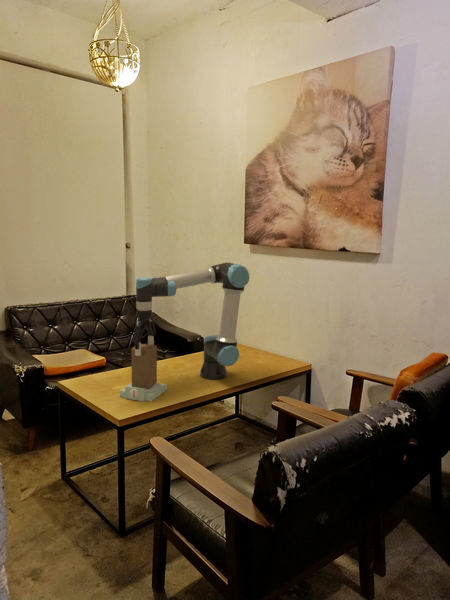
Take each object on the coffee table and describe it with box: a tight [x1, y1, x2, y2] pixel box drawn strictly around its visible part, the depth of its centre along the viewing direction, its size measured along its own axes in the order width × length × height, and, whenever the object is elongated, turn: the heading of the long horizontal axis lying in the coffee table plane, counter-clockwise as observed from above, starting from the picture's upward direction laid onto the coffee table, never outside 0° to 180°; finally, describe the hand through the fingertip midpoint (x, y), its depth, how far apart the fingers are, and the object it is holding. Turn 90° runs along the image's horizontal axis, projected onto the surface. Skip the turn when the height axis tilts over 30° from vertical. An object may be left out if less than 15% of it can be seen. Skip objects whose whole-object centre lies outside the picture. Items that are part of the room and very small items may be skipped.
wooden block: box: [131, 343, 158, 389], centre depth 226 cm, size 10×10×20 cm
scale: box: [119, 381, 168, 403], centre depth 226 cm, size 17×19×6 cm
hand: (144, 351), depth 224 cm, fingers open, 13 cm apart
